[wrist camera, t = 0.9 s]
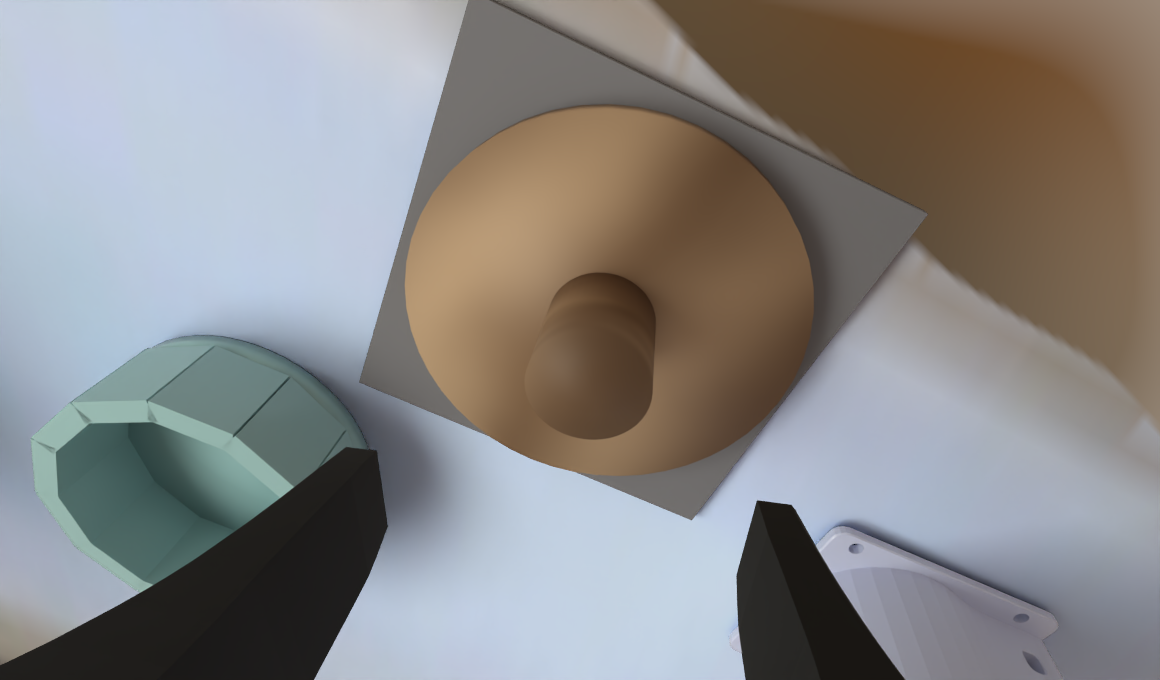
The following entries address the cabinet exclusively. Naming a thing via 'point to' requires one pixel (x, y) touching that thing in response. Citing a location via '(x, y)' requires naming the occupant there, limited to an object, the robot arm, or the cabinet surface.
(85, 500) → the bowl
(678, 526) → the cabinet surface
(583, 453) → the lid
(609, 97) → the mat
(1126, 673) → the cabinet surface
